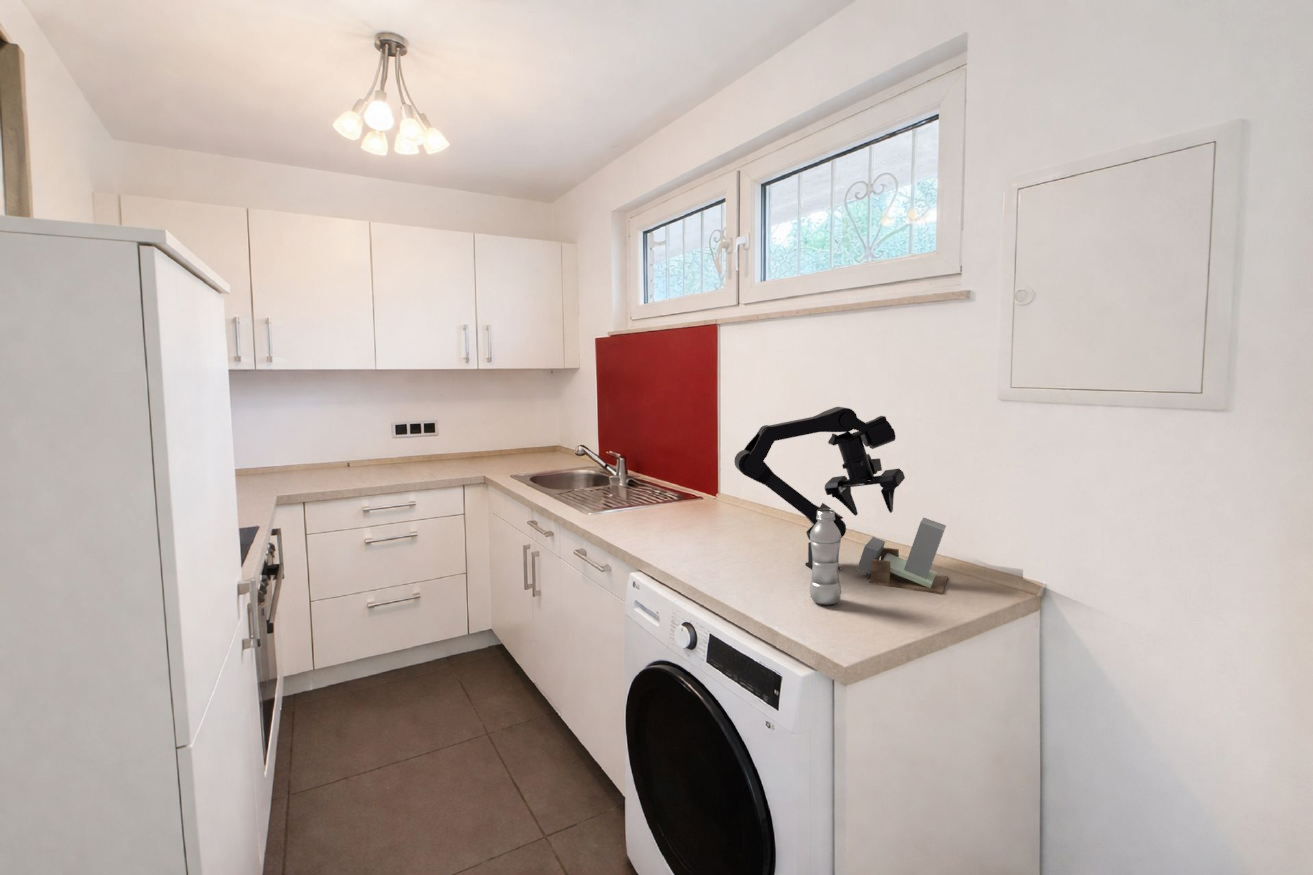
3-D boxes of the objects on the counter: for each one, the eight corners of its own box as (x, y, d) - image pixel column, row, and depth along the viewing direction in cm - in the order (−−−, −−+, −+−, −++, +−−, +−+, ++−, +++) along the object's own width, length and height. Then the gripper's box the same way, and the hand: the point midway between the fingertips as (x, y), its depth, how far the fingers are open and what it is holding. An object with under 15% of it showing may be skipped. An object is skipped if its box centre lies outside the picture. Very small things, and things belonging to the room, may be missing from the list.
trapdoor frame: (868, 582, 141) (868, 559, 141) (879, 568, 151) (879, 546, 151) (942, 594, 133) (942, 569, 133) (948, 578, 143) (948, 555, 143)
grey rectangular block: (903, 569, 140) (920, 522, 137) (907, 563, 144) (923, 517, 141) (926, 578, 138) (943, 530, 135) (929, 572, 142) (946, 525, 139)
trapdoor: (857, 569, 144) (864, 546, 142) (865, 558, 151) (873, 536, 150) (926, 598, 136) (935, 574, 135) (932, 585, 144) (940, 562, 142)
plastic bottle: (846, 601, 131) (847, 509, 128) (832, 611, 126) (832, 515, 123) (818, 594, 135) (819, 505, 133) (803, 603, 130) (803, 511, 128)
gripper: (902, 438, 149) (921, 496, 151) (833, 449, 162) (851, 503, 164) (886, 454, 141) (906, 515, 144) (815, 465, 154) (834, 521, 156)
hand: (873, 513), depth 152 cm, fingers open, 9 cm apart
